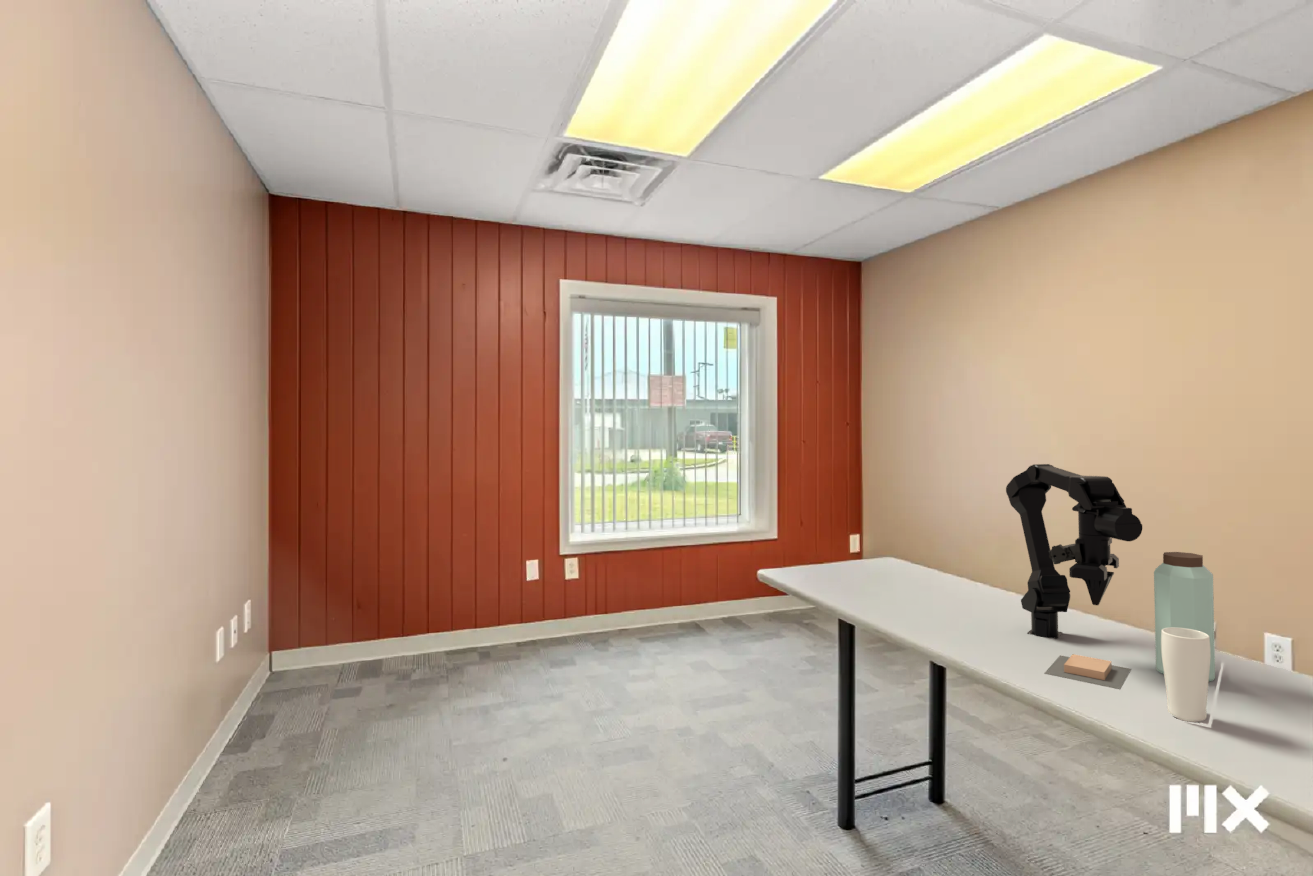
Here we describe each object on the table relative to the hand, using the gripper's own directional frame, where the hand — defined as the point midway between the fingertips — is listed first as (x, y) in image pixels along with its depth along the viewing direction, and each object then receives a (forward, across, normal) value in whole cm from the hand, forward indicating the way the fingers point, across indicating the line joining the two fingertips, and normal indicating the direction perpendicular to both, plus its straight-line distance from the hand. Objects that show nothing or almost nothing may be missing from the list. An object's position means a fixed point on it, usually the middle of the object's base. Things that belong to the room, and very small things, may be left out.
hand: (1095, 604), depth 142 cm
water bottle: (+13, -1, +15) cm, 20 cm away
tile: (+11, +5, 0) cm, 12 cm away
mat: (+12, +10, 0) cm, 16 cm away
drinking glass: (+13, +22, +17) cm, 31 cm away
